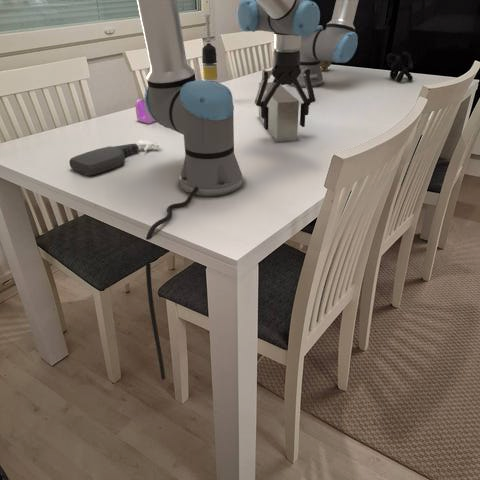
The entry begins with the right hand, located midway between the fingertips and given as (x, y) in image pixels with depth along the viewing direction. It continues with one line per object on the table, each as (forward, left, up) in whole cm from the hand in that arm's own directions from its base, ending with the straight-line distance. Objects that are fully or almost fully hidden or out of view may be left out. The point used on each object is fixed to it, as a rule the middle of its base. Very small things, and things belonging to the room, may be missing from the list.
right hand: (286, 24), depth 153 cm
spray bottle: (+66, -30, -28) cm, 78 cm away
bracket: (+27, -39, -28) cm, 55 cm away
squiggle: (-55, +39, -28) cm, 73 cm away
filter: (-2, -30, -28) cm, 41 cm away
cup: (-67, +3, -28) cm, 72 cm away
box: (+26, +5, -28) cm, 39 cm away
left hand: (+34, +9, -25) cm, 43 cm away
